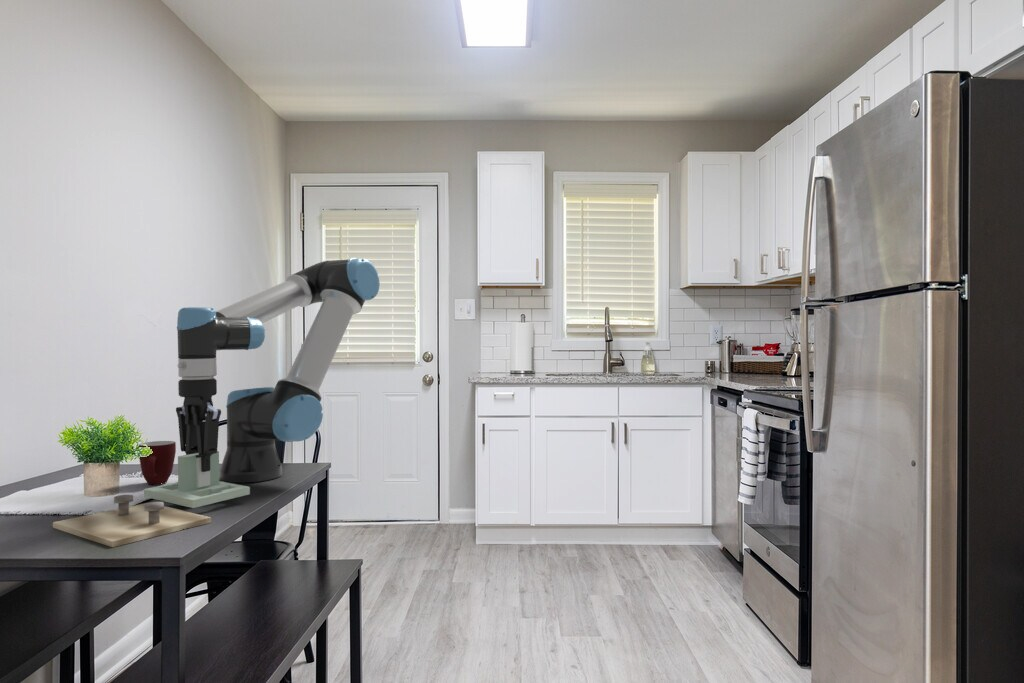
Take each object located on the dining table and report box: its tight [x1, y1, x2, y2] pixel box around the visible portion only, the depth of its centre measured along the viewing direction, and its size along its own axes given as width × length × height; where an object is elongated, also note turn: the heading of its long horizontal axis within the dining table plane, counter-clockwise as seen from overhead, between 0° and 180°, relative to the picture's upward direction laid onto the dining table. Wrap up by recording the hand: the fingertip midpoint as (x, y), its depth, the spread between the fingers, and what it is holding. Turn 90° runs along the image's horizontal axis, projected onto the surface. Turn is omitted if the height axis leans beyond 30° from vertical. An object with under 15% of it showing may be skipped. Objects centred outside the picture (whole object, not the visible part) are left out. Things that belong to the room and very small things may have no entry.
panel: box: [143, 450, 251, 509], centre depth 139 cm, size 13×18×9 cm
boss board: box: [52, 494, 212, 548], centre depth 122 cm, size 18×22×5 cm
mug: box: [138, 440, 177, 485], centre depth 157 cm, size 10×8×10 cm
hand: (199, 485), depth 139 cm, fingers closed on panel, 2 cm apart
